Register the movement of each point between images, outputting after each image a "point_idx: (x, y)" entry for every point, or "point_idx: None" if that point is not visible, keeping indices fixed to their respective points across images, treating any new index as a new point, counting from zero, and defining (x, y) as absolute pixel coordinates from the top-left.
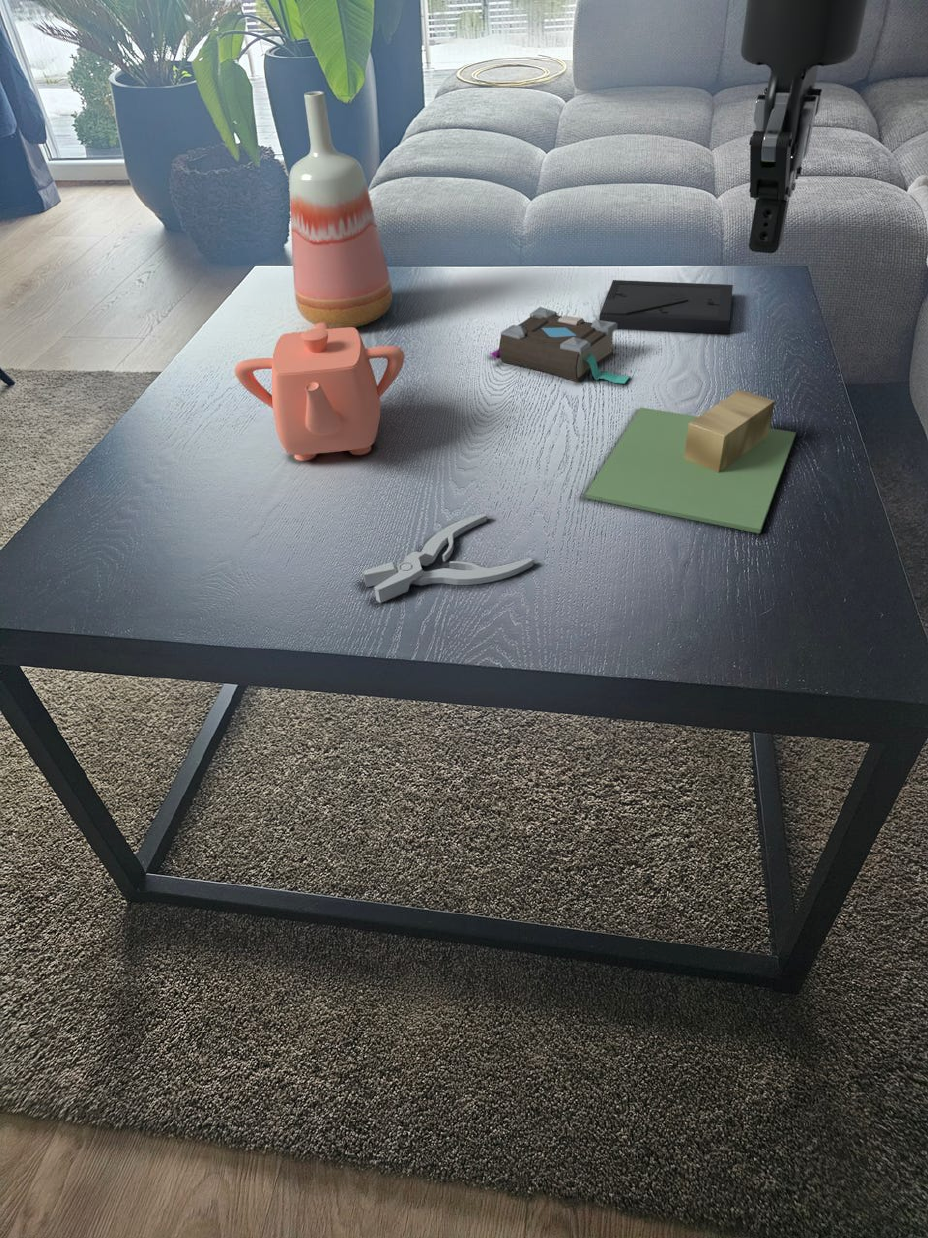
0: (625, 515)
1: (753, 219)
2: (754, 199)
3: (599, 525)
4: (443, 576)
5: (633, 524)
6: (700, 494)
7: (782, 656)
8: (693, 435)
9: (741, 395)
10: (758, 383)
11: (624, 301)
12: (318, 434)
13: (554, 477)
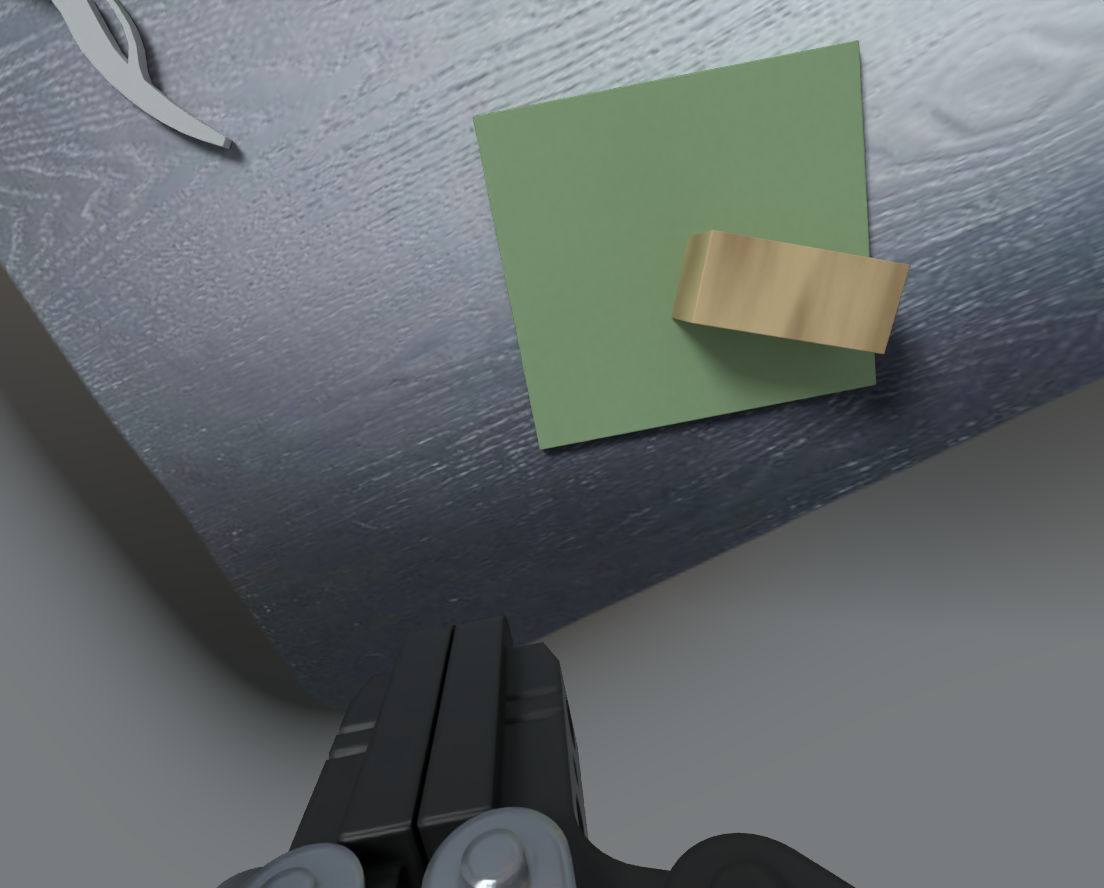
0: (466, 222)
1: (375, 733)
2: (279, 861)
3: (410, 194)
4: (63, 12)
5: (449, 249)
6: (585, 320)
7: (293, 575)
8: (700, 248)
9: (880, 281)
10: (1070, 234)
11: None
12: None
13: (508, 10)
